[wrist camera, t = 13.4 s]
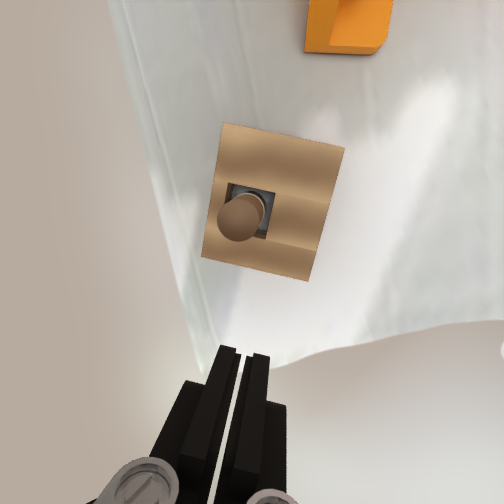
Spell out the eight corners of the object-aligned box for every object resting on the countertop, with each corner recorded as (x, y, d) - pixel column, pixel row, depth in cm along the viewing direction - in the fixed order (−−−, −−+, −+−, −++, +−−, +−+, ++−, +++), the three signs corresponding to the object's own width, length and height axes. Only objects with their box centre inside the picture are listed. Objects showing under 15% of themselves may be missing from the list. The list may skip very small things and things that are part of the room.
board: (230, 127, 33) (223, 122, 30) (338, 150, 33) (345, 147, 29) (209, 247, 37) (201, 256, 34) (305, 269, 37) (308, 281, 33)
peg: (238, 187, 35) (219, 194, 26) (270, 194, 35) (264, 204, 25) (232, 219, 36) (212, 237, 27) (263, 226, 36) (254, 247, 26)
